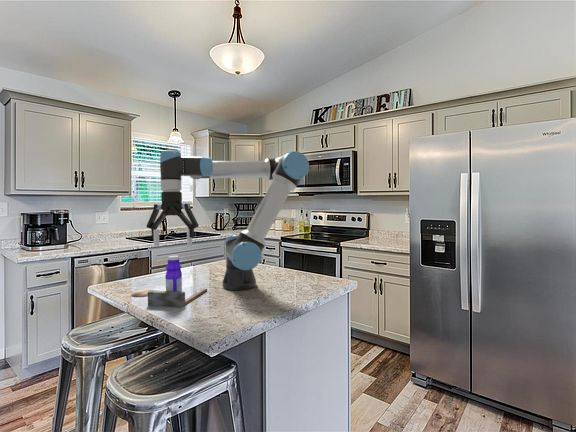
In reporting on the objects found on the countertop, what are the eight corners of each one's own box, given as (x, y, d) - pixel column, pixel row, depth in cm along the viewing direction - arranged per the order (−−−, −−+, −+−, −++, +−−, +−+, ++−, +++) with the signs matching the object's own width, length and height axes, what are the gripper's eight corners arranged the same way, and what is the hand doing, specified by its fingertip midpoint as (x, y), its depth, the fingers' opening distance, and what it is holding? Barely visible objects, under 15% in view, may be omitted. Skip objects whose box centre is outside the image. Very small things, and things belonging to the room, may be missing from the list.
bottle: (169, 298, 131) (168, 254, 131) (184, 298, 132) (183, 254, 131) (163, 304, 124) (162, 257, 124) (179, 303, 125) (178, 257, 124)
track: (207, 290, 142) (206, 279, 142) (182, 307, 120) (181, 293, 120) (177, 289, 145) (177, 278, 144) (147, 305, 123) (147, 292, 122)
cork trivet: (159, 291, 142) (159, 290, 142) (146, 297, 133) (146, 295, 133) (140, 290, 144) (140, 289, 144) (126, 296, 135) (126, 294, 135)
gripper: (206, 191, 130) (207, 244, 131) (146, 192, 133) (148, 244, 134) (198, 190, 122) (199, 247, 123) (135, 191, 126) (137, 247, 127)
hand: (173, 246), depth 129 cm, fingers open, 13 cm apart
